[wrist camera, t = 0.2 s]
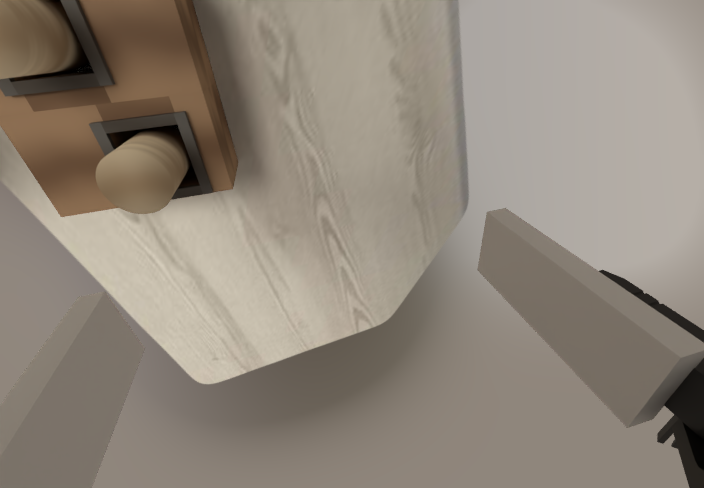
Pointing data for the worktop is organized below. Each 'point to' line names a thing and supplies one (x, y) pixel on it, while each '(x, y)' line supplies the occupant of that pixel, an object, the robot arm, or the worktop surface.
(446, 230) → the worktop surface
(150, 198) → the dowel
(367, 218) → the worktop surface
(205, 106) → the walnut block
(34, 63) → the dowel
